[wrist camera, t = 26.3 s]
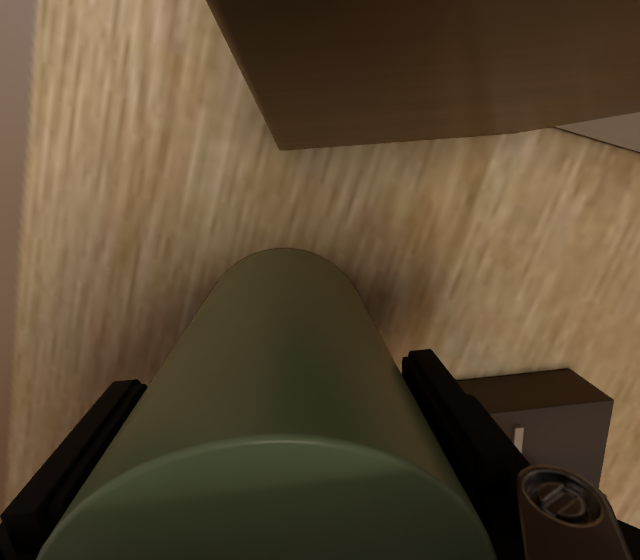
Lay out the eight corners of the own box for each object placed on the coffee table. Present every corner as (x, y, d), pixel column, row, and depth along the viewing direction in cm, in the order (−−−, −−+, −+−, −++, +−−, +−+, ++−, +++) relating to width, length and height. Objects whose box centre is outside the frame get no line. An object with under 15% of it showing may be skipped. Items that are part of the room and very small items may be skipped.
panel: (553, 531, 20) (591, 582, 18) (398, 551, 20) (414, 607, 17) (576, 367, 17) (625, 401, 15) (395, 387, 17) (414, 425, 14)
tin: (365, 384, 17) (490, 743, 6) (218, 400, 16) (89, 807, 6) (359, 240, 15) (523, 408, 4) (192, 255, 15) (-63, 475, 4)
